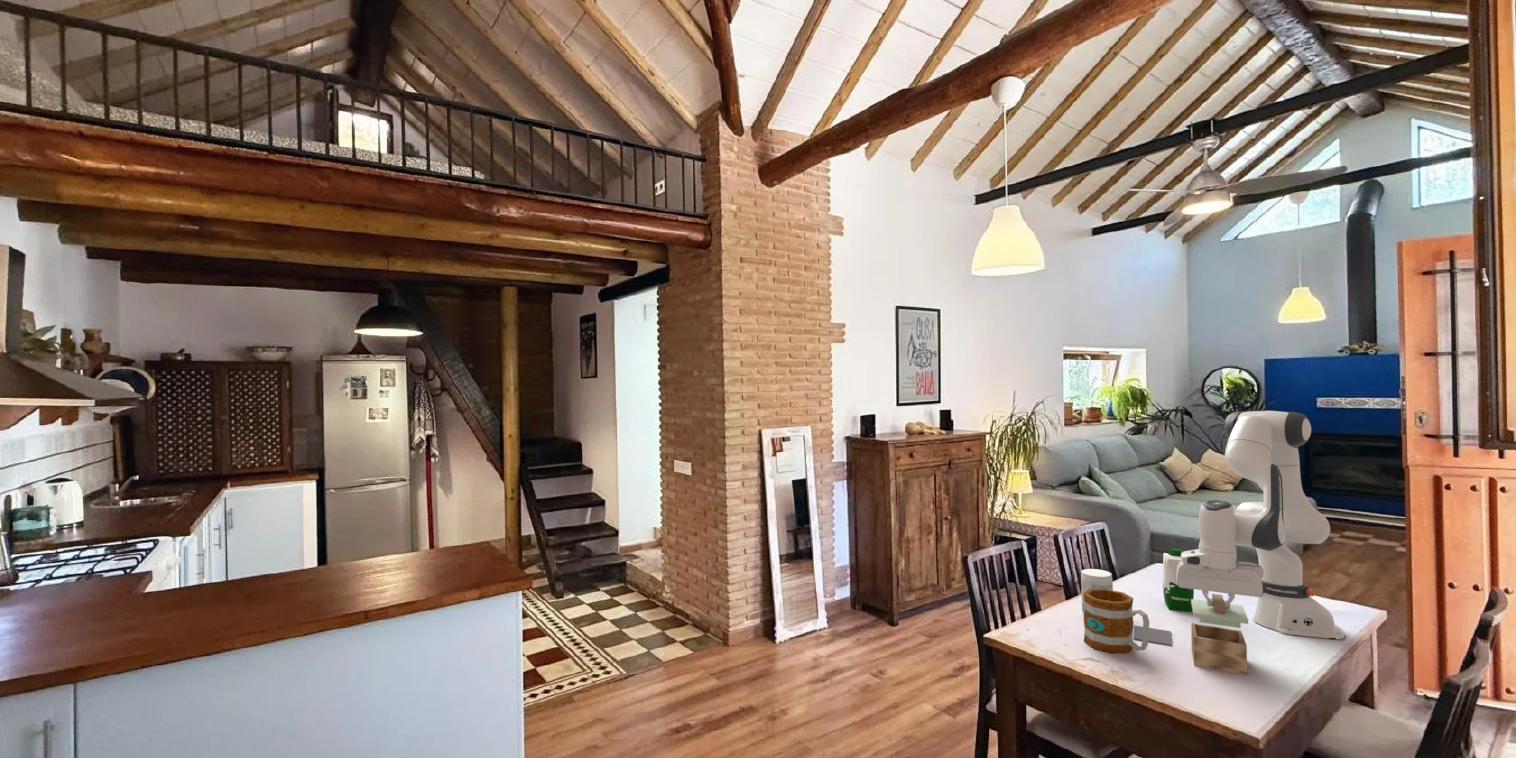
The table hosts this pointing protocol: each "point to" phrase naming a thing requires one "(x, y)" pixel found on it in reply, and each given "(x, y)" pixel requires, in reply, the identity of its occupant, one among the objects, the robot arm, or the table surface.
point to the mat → (1154, 635)
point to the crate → (1219, 648)
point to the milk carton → (1172, 592)
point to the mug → (1111, 622)
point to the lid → (1219, 612)
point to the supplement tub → (1095, 581)
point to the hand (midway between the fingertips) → (1218, 606)
